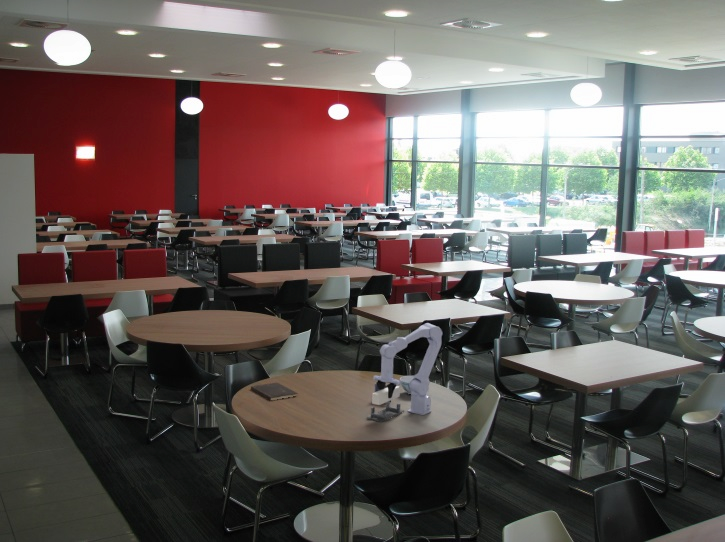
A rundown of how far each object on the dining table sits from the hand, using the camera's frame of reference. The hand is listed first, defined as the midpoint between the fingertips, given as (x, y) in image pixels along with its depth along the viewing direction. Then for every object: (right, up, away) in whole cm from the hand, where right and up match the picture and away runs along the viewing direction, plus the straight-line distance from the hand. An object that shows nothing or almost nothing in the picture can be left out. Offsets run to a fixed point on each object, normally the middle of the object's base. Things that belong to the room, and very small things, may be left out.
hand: (386, 396), depth 354 cm
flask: (-1, -6, +24) cm, 25 cm away
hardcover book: (-58, -4, +33) cm, 67 cm away
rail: (0, -2, 0) cm, 2 cm away
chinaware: (+16, -5, +39) cm, 43 cm away
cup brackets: (0, -9, +1) cm, 9 cm away
